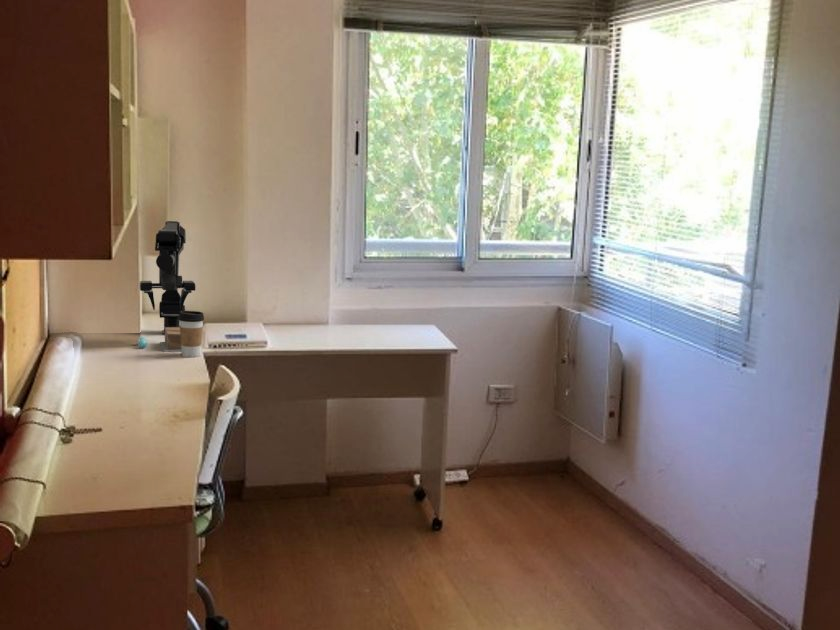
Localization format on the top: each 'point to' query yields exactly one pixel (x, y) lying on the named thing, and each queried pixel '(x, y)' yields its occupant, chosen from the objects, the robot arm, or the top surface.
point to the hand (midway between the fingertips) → (167, 309)
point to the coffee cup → (191, 332)
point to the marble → (142, 343)
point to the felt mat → (166, 348)
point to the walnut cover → (173, 338)
